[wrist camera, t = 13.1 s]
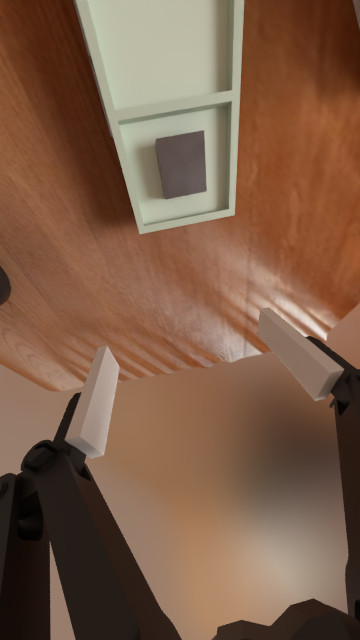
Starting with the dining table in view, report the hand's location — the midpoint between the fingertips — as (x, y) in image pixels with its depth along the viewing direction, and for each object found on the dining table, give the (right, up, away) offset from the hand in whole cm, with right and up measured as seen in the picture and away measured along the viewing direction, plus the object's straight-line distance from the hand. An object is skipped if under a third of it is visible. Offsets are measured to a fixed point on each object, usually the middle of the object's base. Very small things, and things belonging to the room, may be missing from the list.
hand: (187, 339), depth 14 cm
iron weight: (-1, +24, +10) cm, 26 cm away
